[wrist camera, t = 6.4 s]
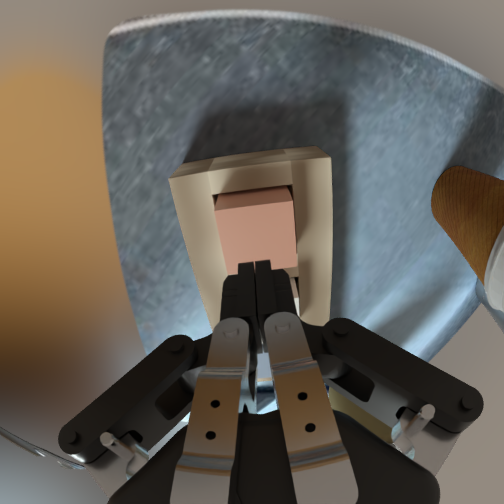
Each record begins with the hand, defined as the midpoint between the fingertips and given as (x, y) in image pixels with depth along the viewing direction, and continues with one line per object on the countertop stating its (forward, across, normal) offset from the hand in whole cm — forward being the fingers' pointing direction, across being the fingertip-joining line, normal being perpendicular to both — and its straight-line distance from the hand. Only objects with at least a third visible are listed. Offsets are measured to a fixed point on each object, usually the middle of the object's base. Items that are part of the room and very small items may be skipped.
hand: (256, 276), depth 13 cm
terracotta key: (+7, 0, 0) cm, 7 cm away
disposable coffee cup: (+10, -19, +1) cm, 22 cm away
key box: (+10, 0, +7) cm, 12 cm away
